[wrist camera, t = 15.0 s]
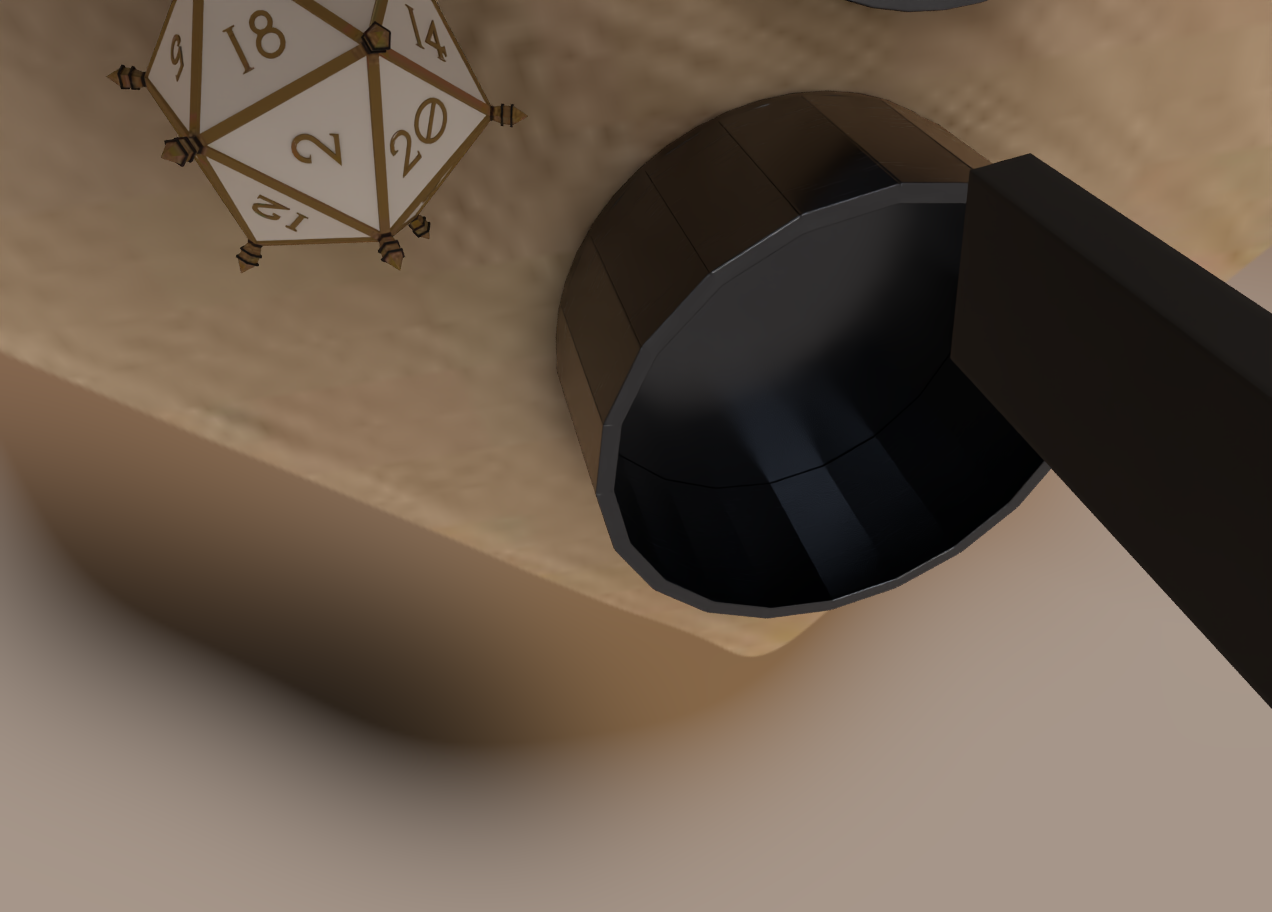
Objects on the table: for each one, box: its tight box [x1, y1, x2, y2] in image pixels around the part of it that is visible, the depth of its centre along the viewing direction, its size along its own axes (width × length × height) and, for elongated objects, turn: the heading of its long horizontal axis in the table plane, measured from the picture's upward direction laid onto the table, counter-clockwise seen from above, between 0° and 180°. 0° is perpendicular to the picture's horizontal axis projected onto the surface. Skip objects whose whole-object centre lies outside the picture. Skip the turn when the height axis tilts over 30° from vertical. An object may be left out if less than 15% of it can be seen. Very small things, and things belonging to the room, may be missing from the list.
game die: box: [106, 0, 528, 273], centre depth 22 cm, size 9×8×10 cm
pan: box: [556, 91, 1051, 618], centre depth 32 cm, size 18×18×8 cm
